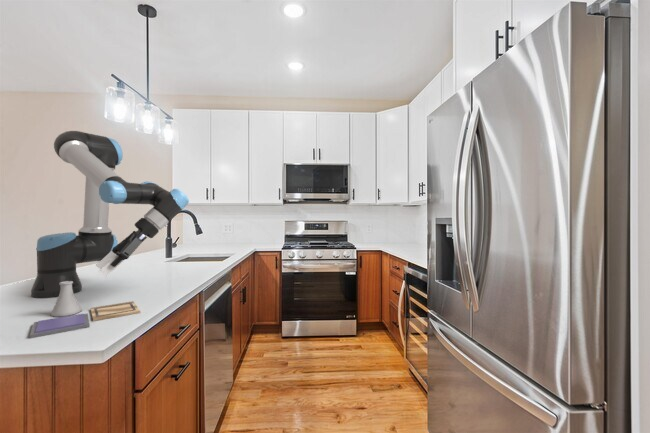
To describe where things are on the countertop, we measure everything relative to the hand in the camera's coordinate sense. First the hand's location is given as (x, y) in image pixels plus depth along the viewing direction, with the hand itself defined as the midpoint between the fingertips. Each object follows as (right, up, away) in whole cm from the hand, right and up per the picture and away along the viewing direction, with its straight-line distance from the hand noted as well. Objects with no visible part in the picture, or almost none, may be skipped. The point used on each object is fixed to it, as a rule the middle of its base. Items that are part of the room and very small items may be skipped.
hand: (100, 270), depth 102 cm
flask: (-7, -13, -5) cm, 15 cm away
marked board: (+6, -13, -3) cm, 14 cm away
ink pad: (0, -13, -15) cm, 20 cm away
